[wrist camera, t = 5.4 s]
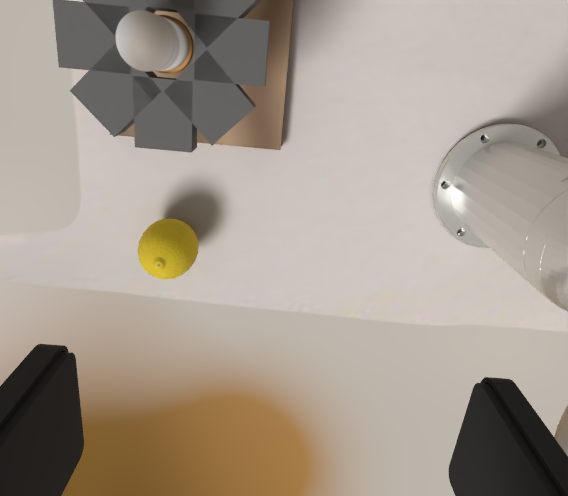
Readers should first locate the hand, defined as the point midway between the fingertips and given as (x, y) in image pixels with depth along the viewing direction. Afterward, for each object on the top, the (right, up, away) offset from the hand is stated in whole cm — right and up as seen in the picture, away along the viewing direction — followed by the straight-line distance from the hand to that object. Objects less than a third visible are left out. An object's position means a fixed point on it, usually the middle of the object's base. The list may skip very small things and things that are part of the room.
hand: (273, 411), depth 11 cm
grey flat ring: (-7, +17, +19) cm, 27 cm away
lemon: (-11, +5, +37) cm, 39 cm away
